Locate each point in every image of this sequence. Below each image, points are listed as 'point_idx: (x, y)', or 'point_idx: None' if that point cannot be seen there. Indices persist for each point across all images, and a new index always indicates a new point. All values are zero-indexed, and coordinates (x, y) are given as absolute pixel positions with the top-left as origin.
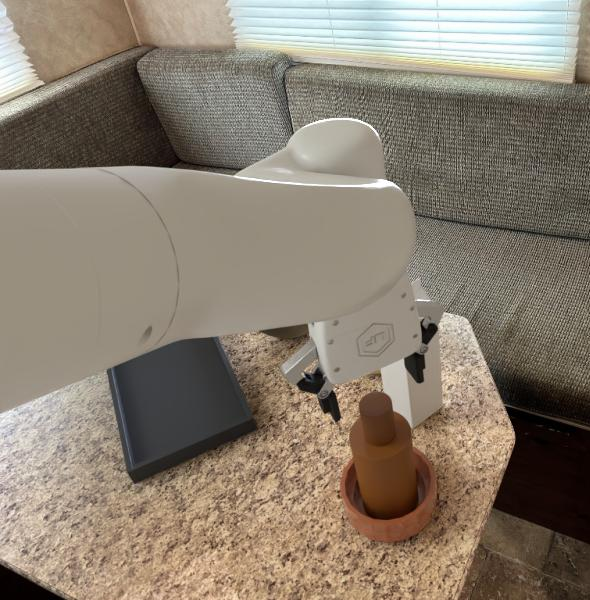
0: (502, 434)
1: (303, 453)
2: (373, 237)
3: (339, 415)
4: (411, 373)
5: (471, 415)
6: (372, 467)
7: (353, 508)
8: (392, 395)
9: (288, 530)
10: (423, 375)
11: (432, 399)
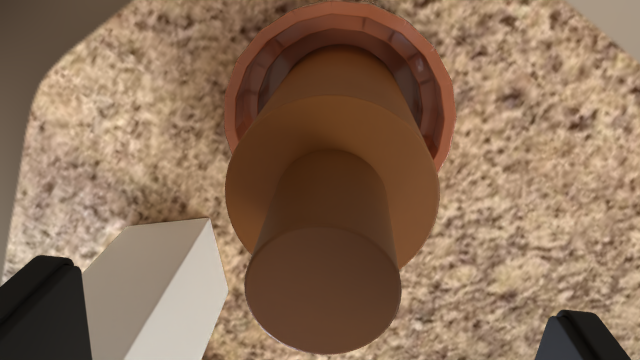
0: (46, 95)
1: (421, 294)
2: None
3: (577, 337)
4: (74, 334)
5: (83, 173)
6: (410, 119)
7: (445, 109)
8: (206, 302)
9: (543, 171)
10: (3, 285)
11: (133, 246)
